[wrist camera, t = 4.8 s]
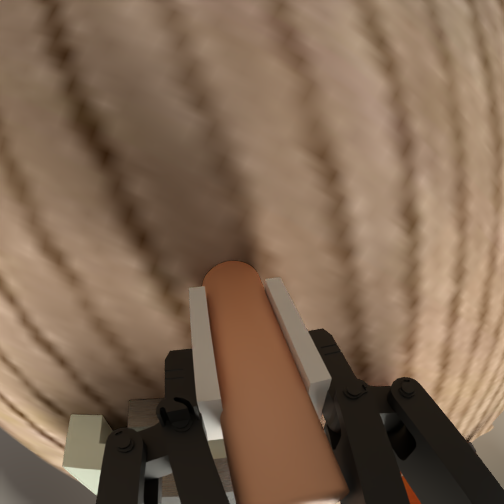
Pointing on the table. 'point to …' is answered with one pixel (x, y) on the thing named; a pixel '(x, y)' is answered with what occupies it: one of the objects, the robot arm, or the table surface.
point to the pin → (265, 399)
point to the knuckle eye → (99, 448)
